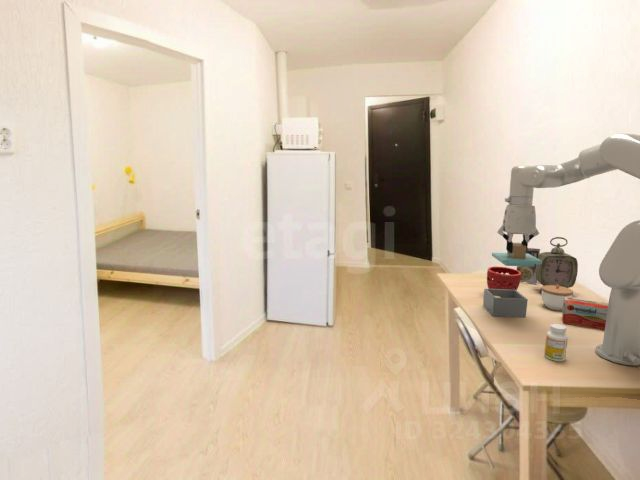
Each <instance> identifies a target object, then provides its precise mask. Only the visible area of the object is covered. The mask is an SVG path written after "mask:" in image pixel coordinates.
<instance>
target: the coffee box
mask: <svg viewBox="0 0 640 480" xmlns="http://www.w3.org/2000/svg"><path fill="white" fill-rule="evenodd" d="M540 253H541V248H533V247H527V251H526V254H530V255H532V256H534V257H536V258H538V256H539V254H540ZM516 270H518V271H520V272H521V279H520V283H523V282H527V283H526V284H531V283H532V285H537V283H538V281H537V279H536V274H535V273H536V264H535V267H533V266H516Z"/></svg>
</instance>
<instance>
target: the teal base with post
mask: <svg viewBox="0 0 640 480" xmlns="http://www.w3.org/2000/svg"><path fill="white" fill-rule="evenodd" d="M491 257H492V258H494V259H496V261H498V262H499V263H501V264H503V265H504V267H506V266H507V267H517V266H533V267H535V264H542V261H541V260H539V259H538V258H536V257H534V256H532V255H530V254H526V246H525V245H523V244H521V242H513V247H512V253H509V252H491Z"/></svg>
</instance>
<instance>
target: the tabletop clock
mask: <svg viewBox="0 0 640 480" xmlns="http://www.w3.org/2000/svg"><path fill="white" fill-rule="evenodd" d="M556 239H557V240H558V239H559V240H560V239H561V240H564V241H565V242H566V243H565V244H560V243H556V244H554V243H553V240H556ZM549 243H550V245H551V246H553V247H552V248H551V251H544V252H540V254H539V256H538V259H539V260H541V261H542V264H536V273H535V274H536V279H537V283H538V282H539V284H541V285H542V287H543V286H546V285H555V286H556V285H559V286H562V287H566V288H569V289H571V288H572V287H574V286H575V283H576V281H577V277H578V268H579V264H578V259H577V258H576V257H574V256H572V255H571V254H568V253H565V251H564V248H562V247H565V246H567V245H568V239H566V238H565V237H562V236H560V237H559V236H555V237H552V238H551V239H550V241H549ZM539 293H540V294H542V289H540V290H539Z"/></svg>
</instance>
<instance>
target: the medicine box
mask: <svg viewBox="0 0 640 480" xmlns="http://www.w3.org/2000/svg"><path fill="white" fill-rule="evenodd" d="M608 303H609V302H602V301H595V300H589V299H580V298H573V297H572V298H568V297H565V298H564V303H563V310H561V312H562V313H561V315H562V323H563V324H565V325H571V326H578V327H584V328H587V329H589V328H590V329H595V330H601V331H605V324H606V317H607V310H608Z"/></svg>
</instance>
